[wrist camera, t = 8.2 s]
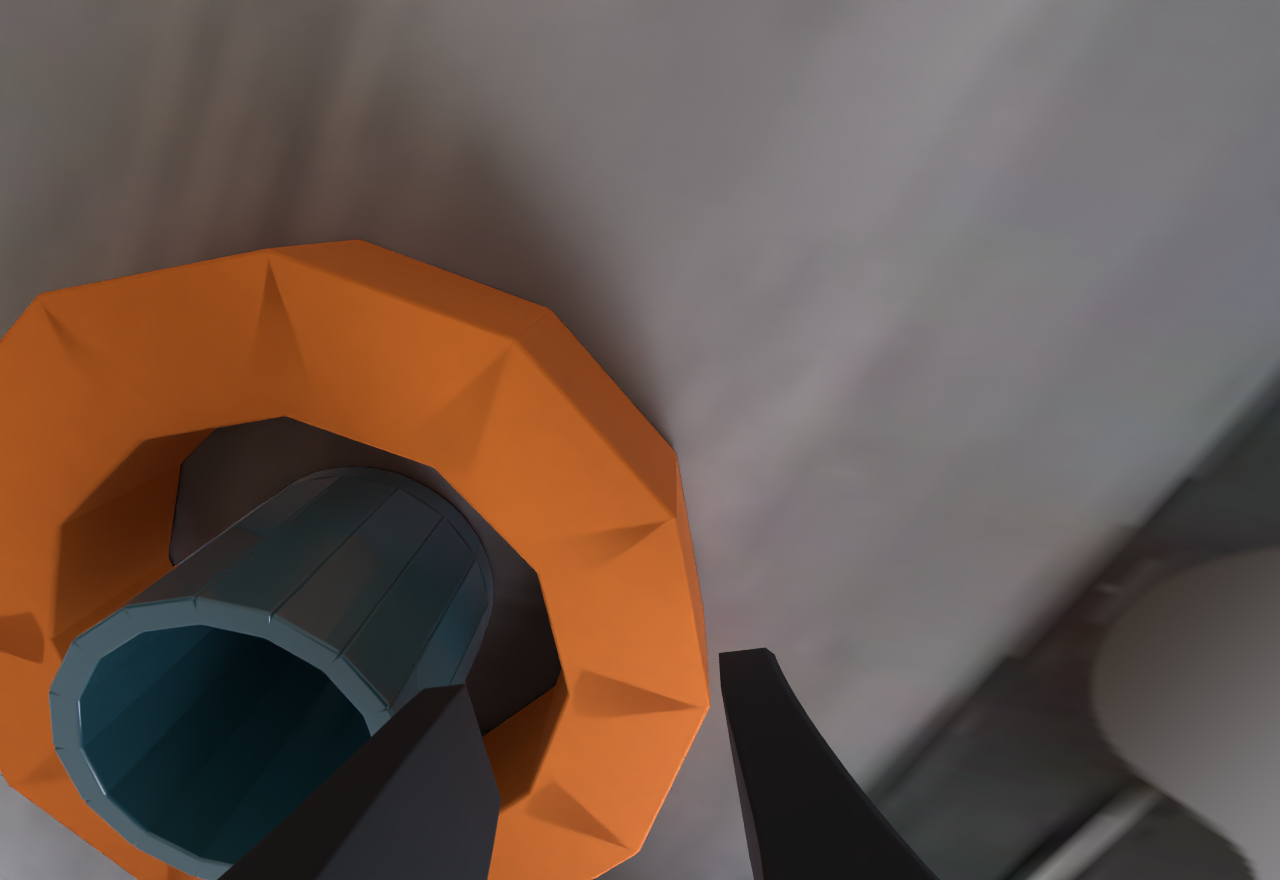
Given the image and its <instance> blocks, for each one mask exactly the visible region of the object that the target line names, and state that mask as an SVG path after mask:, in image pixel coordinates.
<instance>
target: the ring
mask: <svg viewBox="0 0 1280 880" xmlns="http://www.w3.org/2000/svg"><path fill="white" fill-rule="evenodd" d="M284 416H286V417H289V418H292V419H295V420H298V421H301V422H304V423H307V424H309V425H312V426H315V427H318V428H321V429H324V430H327V431H330V432H333V433H336V434H338V435H341V436H344V437H347V438H350V439H353V440H356V441H359V442H362V443H364V444H367V445H370V446H373V447H376V448H379V449H382V450H385V451H388V452H391V453H393V454H396V455H399V456H402V457H405V458H408V459H411V460H414V461H417V462H420V463H422V464H425V465H428V466H431V467H434V468H435V469H436V470H437V471H438V472H439V473H440V474H441V475H442V476H443V477H444V478H445V479H446V480H447V481H448V482H449V483H450V484H451V486H452V487H453V488H454V489H455V490H456V491H457V492H458V493H459V494H460V495H461V496H462V497H463V498H464V499H465V500H466V501H467V502H468V503H469V504H470V505H471V506H472V507H473V508H474V509H475V510H476V511H477V512H478V513H479V514H480V515H481V516H482V517H483V518H484V519H485V520H486V521H487V522H488V523H489V524H490V525H491V526H492V527H493V528H494V529H495V530H496V531H497V532H498V533H499V534H500V535H501V536H502V537H503V538H504V539H505V540H506V541H507V542H508V543H509V544H510V545H511V546H512V547H513V548H514V550H515V551H516V552H517V553H518V554H519V555H520V556H521V557H522V558H523V559H524V560H525V561H526V562H527V563H528V564H529V565H530V566H531V567H532V568H533V569H534V570H535V571H536V572H537V574H538V578H539V582H540V586H541V590H542V593H543V597H544V601H545V605H546V609H547V613H548V617H549V621H550V624H551V628H552V632H553V636H554V640H555V644H556V648H557V652H558V655H559V659H560V663H561V667H562V669H561V672H560V674H559V677H558V679H557V682H556V685H555V686H554V687H553V688H552V689H550V690H549V691H547V692H546V693H544V694H543V695H542V696H540V697H539V698H537V699H536V700H534V701H533V702H532V703H530V704H529V705H527V706H526V707H524V708H523V709H521V710H520V711H519V712H517V713H516V714H514V715H513V716H511V717H510V718H509V719H507V720H506V721H504V722H503V723H501V724H500V725H499V726H497V727H496V728H494V729H493V730H491V731H490V732H489V733H487V734H486V735H484V736H483V737H482V738H483V742H484V745H485V748H486V751H487V755H488V758H489V761H490V764H491V768H492V771H493V774H494V777H495V781H496V784H497V787H498V790H499V794H500V797H501V804H500V810H499V817H498V823H497V829H496V835H495V842H494V847H493V852H492V858H491V863H490V868H489V874H488V879H487V880H593V879H595V878H596V877H598V876H600V875H601V874H603V873H605V872H607V871H608V870H610V869H612V868H613V867H615V866H617V865H618V864H620V863H622V862H623V861H625V860H627V859H629V858H630V857H632V856H634V855H635V854H636V853H637V852H639V851H640V849H641V847H642V845H643V843H644V841H645V839H646V837H647V835H648V833H649V831H650V828H651V826H652V824H653V822H654V820H655V818H656V816H657V814H658V812H659V810H660V808H661V806H662V804H663V802H664V800H665V798H666V796H667V794H668V792H669V789H670V787H671V785H672V783H673V781H674V779H675V777H676V775H677V773H678V771H679V769H680V767H681V765H682V763H683V761H684V759H685V757H686V755H687V753H688V750H689V748H690V746H691V744H692V742H693V740H694V738H695V736H696V734H697V732H698V730H699V728H700V726H701V724H702V722H703V720H704V718H705V716H706V714H707V711H708V709H709V706H710V691H709V677H708V663H707V649H706V635H705V621H704V609H703V603H702V597H701V592H700V586H699V580H698V574H697V569H696V563H695V557H694V552H693V546H692V540H691V534H690V529H689V523H688V517H687V511H686V506H685V500H684V494H683V488H682V483H681V477H680V471H679V465H678V460H677V455H676V453H675V451H674V450H673V449H672V448H671V446H670V445H669V444H668V443H667V442H666V441H665V440H664V438H663V437H662V436H661V435H660V434H659V433H658V432H657V430H656V429H655V428H654V427H653V426H652V425H651V424H650V422H649V421H648V420H647V419H646V418H645V417H644V416H643V414H642V413H641V412H640V411H639V410H638V409H637V407H636V406H635V405H634V404H633V403H632V402H631V401H630V399H629V398H628V397H627V396H626V395H625V394H624V393H623V391H622V390H621V389H620V388H619V387H618V386H617V385H616V383H615V382H614V381H613V380H612V379H611V378H610V377H609V375H608V374H607V373H606V372H605V371H604V370H603V368H602V367H601V366H600V365H599V364H598V363H597V362H596V360H595V359H594V358H593V357H592V356H591V355H590V354H589V352H588V351H587V350H586V349H585V348H584V347H583V346H582V344H581V343H580V342H579V341H578V340H577V339H576V337H575V336H574V335H573V334H572V333H571V332H570V331H569V329H568V328H567V327H566V326H565V325H564V324H563V323H562V321H561V320H560V319H559V318H558V317H557V316H556V315H555V313H554V312H553V311H551V310H550V309H549V308H547V307H544V306H541V305H538V304H536V303H533V302H530V301H527V300H525V299H522V298H519V297H517V296H514V295H511V294H508V293H506V292H503V291H500V290H497V289H495V288H492V287H489V286H486V285H484V284H481V283H478V282H475V281H473V280H470V279H467V278H465V277H462V276H459V275H456V274H454V273H451V272H448V271H445V270H443V269H440V268H437V267H434V266H432V265H429V264H426V263H423V262H421V261H418V260H415V259H413V258H410V257H407V256H404V255H402V254H399V253H396V252H393V251H391V250H388V249H385V248H382V247H380V246H377V245H374V244H371V243H369V242H366V241H363V240H358V239H356V240H346V241H336V242H326V243H316V244H307V245H297V246H287V247H277V248H267V249H262V250H257V251H252V252H247V253H242V254H237V255H232V256H227V257H222V258H217V259H211V260H206V261H201V262H196V263H191V264H186V265H181V266H176V267H171V268H166V269H161V270H156V271H151V272H145V273H140V274H135V275H130V276H125V277H120V278H115V279H110V280H105V281H100V282H95V283H90V284H85V285H80V286H74V287H69V288H64V289H59V290H54V291H49V292H44V293H41V294H39V295H38V296H37V297H36V298H35V299H34V301H33V302H32V303H31V304H30V305H29V307H28V308H27V309H26V310H25V311H24V313H23V314H22V315H21V316H20V317H19V319H18V320H17V321H16V322H15V323H14V325H13V326H12V327H11V328H10V329H9V331H8V332H7V333H6V334H5V335H4V337H3V338H2V339H1V340H0V771H1V773H2V775H3V776H4V778H5V780H6V781H7V783H8V785H9V786H10V787H13V788H14V789H15V790H17V791H18V792H19V793H21V794H22V795H23V796H25V797H26V798H27V799H29V800H30V801H32V802H33V803H34V804H36V805H37V806H38V807H40V808H41V809H42V810H44V811H45V812H47V813H48V814H49V815H51V816H52V817H53V818H55V819H56V820H57V821H59V822H60V823H62V824H63V825H64V826H66V827H67V828H68V829H70V830H71V831H72V832H74V833H75V834H77V835H78V836H79V837H81V838H82V839H83V840H85V841H86V842H87V843H89V844H90V845H92V846H93V847H94V848H96V849H97V850H98V851H100V852H101V853H102V854H104V855H105V856H107V857H108V858H109V859H111V860H112V861H113V862H115V863H116V864H117V865H119V866H120V867H122V868H123V869H124V870H126V871H127V872H128V873H130V874H131V875H132V876H134V877H135V878H137V879H138V880H205V879H200V878H197V877H196V876H190V875H188V874H186V873H185V872H183V871H181V870H179V869H177V868H175V867H173V866H171V865H169V864H167V863H165V862H163V861H161V860H159V859H157V858H155V857H153V856H151V855H149V854H147V853H145V852H143V851H141V850H139V849H137V848H136V847H135V845H131V844H130V843H128V842H127V841H126V840H125V839H124V838H123V837H122V836H121V835H120V834H119V833H117V832H116V831H115V830H114V829H113V828H112V827H111V826H110V825H109V824H108V823H106V822H105V821H104V820H103V819H102V818H101V817H100V816H99V815H98V814H97V813H95V812H94V811H93V810H92V809H91V808H90V807H89V806H88V805H87V804H86V803H85V800H83V799H82V798H81V796H80V795H79V793H78V791H77V789H76V787H75V786H74V784H73V782H72V780H71V778H70V777H69V775H68V773H67V771H66V770H65V768H64V766H63V764H62V762H61V761H60V759H59V757H58V755H57V753H56V752H55V746H54V745H53V741H52V729H51V718H50V706H49V695H48V693H49V691H50V690H49V688H50V686H51V684H52V681H53V679H54V677H55V675H56V673H57V671H58V669H59V667H60V665H61V663H62V661H63V659H64V657H65V654H66V652H67V650H68V648H69V646H70V644H71V642H72V641H73V640H74V639H75V638H76V636H78V635H79V634H80V633H82V632H83V631H85V630H86V629H87V628H89V627H90V626H92V625H93V624H94V623H96V622H97V621H99V620H100V619H101V618H103V617H104V616H106V615H107V614H108V613H110V612H111V611H112V610H114V609H115V608H117V607H118V606H119V605H121V604H122V603H124V602H125V601H126V600H128V599H129V598H131V597H132V596H133V595H135V594H136V593H138V592H139V591H140V590H142V589H143V588H145V587H146V586H147V585H149V584H150V583H152V582H153V581H154V580H156V579H157V578H159V577H160V576H161V575H163V574H164V573H165V572H167V571H168V570H170V569H171V568H172V567H173V566H172V563H171V561H170V559H169V557H168V555H169V547H170V540H171V533H172V526H173V518H174V511H175V504H176V496H177V489H178V482H179V475H180V467H181V463H182V462H183V461H184V460H185V459H186V458H187V457H188V456H189V455H190V454H191V453H192V452H193V451H194V450H195V449H196V448H197V447H198V446H199V445H200V444H201V443H202V442H203V441H204V440H205V439H206V438H207V437H208V436H209V435H210V434H211V433H212V432H213V431H214V430H215V429H216V428H219V427H225V426H231V425H237V424H243V423H249V422H254V421H260V420H266V419H272V418H278V417H284Z"/></svg>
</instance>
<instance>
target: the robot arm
mask: <svg viewBox="0 0 1280 880" xmlns="http://www.w3.org/2000/svg"><path fill="white" fill-rule="evenodd" d="M719 664H720V680H721V690H722V696H723V702H724V708H725V714H726V720H727V726H728V732H729V738H730V744H731V750H732V756H733V762H734V768H735V774H736V780H737V785H738V791H739V797H740V803H741V809H742V815H743V821H744V827H745V833H746V839H747V845H748V851H749V857H750V861H751V866H752V871H753V876H754V880H939V879H938V877H937V876H936V875H935V874H934V873H933V872H932V871H931V870H930V869H929V868H928V867H927V866H926V864H925V863H924V862H923V861H922V860H921V859H920V858H919V857H918V856H917V855H916V853H915V852H914V851H913V850H912V849H911V848H910V847H909V845H908V844H907V843H906V842H905V841H904V840H903V839H902V837H901V836H900V835H899V834H898V833H897V832H896V831H895V829H894V828H893V827H892V826H891V825H890V823H889V822H888V821H887V820H886V819H885V817H884V816H883V815H882V814H881V813H880V811H879V810H878V809H877V808H876V806H875V805H874V804H873V803H872V802H871V800H870V799H869V798H868V797H867V796H866V794H865V793H864V792H863V791H862V789H861V788H860V787H859V785H858V784H857V783H856V782H855V780H854V779H853V778H852V776H851V775H850V774H849V773H848V771H847V770H846V769H845V767H844V766H843V764H842V763H841V762H840V760H839V759H838V758H837V756H836V755H835V753H834V752H833V751H832V749H831V748H830V747H829V745H828V744H827V743H826V741H825V740H824V738H823V737H822V736H821V734H820V733H819V731H818V730H817V728H816V727H815V725H814V724H813V723H812V721H811V720H810V718H809V717H808V715H807V713H806V712H805V710H804V709H803V707H802V705H801V704H800V702H799V701H798V699H797V698H796V696H795V694H794V693H793V691H792V689H791V687H790V686H789V684H788V682H787V680H786V678H785V676H784V675H783V673H782V670H781V668H780V666H779V664H778V662H777V660H776V657H775V654H773V653H772V652H771V651H769V650H768V649H766V648H758V649H750V650H742V651H733V652H725V653H719ZM500 804H501V797H500V794H499V790H498V787H497V784H496V781H495V777H494V774H493V771H492V768H491V764H490V761H489V758H488V755H487V751H486V748H485V745H484V742H483V738H482V735H481V732H480V729H479V725H478V722H477V719H476V716H475V712H474V709H473V706H472V703H471V699H470V696H469V693H468V690H467V686H466V684H458V685H449V686H441V687H432V688H424V689H423V690H421V691H420V692H419V693H418V694H417V695H416V696H414V697H413V698H412V699H411V700H410V701H409V702H408V703H407V704H405V705H404V706H403V707H402V708H401V709H400V710H399V711H398V712H397V713H396V714H395V715H394V716H393V717H392V718H390V719H389V720H388V721H387V722H386V723H385V724H384V725H383V726H382V727H381V728H380V729H379V730H378V731H377V732H376V733H375V734H374V735H373V736H372V737H371V738H370V739H369V740H368V741H367V742H366V743H364V744H363V745H362V746H361V747H360V748H359V749H358V750H357V751H356V752H355V753H354V754H353V755H352V756H351V757H350V758H349V759H348V760H347V761H346V762H345V763H344V764H343V765H342V766H341V767H340V768H338V769H337V770H336V771H335V772H334V773H333V774H332V775H331V776H330V777H329V778H328V779H327V780H326V781H325V782H324V783H323V784H322V785H321V786H320V787H319V788H318V789H316V790H315V791H314V792H313V793H312V794H311V795H310V796H309V797H308V798H307V799H306V800H305V801H304V802H303V803H302V804H301V805H300V806H299V807H298V808H296V809H295V810H294V811H293V812H292V813H291V814H290V815H289V816H288V817H287V818H285V819H284V820H283V821H282V822H281V823H280V824H279V825H278V826H276V827H275V828H274V829H273V830H272V831H271V832H270V833H269V834H268V835H266V836H265V837H264V838H263V839H262V840H261V841H260V842H259V843H257V844H256V845H255V846H254V847H253V848H252V849H251V850H250V851H249V852H247V853H246V854H245V855H244V856H243V857H242V858H241V859H240V860H238V861H237V862H236V863H235V864H234V865H233V866H232V867H231V868H230V869H228V870H227V871H226V872H225V873H224V874H223V875H222V876H221V877H219V878H218V879H217V880H487V879H488V874H489V868H490V863H491V858H492V852H493V847H494V842H495V835H496V829H497V823H498V817H499V810H500Z"/></svg>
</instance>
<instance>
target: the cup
mask: <svg viewBox="0 0 1280 880" xmlns="http://www.w3.org/2000/svg"><path fill="white" fill-rule="evenodd" d="M493 599H494V586H493V577H492V572H491V567H490V563H489V561H488V558H487V555H486V552H485V550H484V548H483V546H482V544H481V542H480V540H479V538H478V536H477V535H476V533H475V532H474V530H473V529H472V527H471V526H470V524H469V523H468V522H467V521H466V520H465V518H464V517H463V516H462V515H461V514H460V513H459V512H458V510H456V509H455V508H454V507H453V506H452V505H451V504H450V503H449V502H448V501H446V500H445V499H444V498H442V497H441V496H440V495H438V494H437V493H435V492H434V491H433V490H431V489H429V488H428V487H426V486H424V485H422V484H420V483H418V482H417V481H414V480H412V479H410V478H407V477H405V476H402V475H400V474H396V473H393V472H389V471H385V470H380V469H374V468H368V467H340V468H331V469H327V470H322V471H318V472H315V473H312V474H310V475H307V476H304V477H302V478H300V479H298V480H297V481H295V482H293V483H291V484H290V485H288V486H287V487H285V488H284V489H283V490H281V491H280V492H278V493H277V494H276V495H274V496H273V497H271V498H270V499H268V500H267V501H265V502H264V503H262V504H261V505H259V506H258V507H256V508H255V509H253V510H252V511H251V512H249V513H248V514H246V515H245V516H244V517H242V518H241V519H239V520H238V521H237V522H235V523H234V524H232V525H231V526H230V527H228V528H227V529H225V530H224V531H223V532H221V533H220V534H218V535H217V536H216V537H214V538H213V539H211V540H210V541H209V542H207V543H206V544H205V545H203V546H202V547H200V548H199V549H198V550H196V551H195V552H193V553H192V554H191V555H189V556H188V557H186V558H185V559H184V560H182V561H181V562H179V563H178V564H177V565H175V566H174V567H172V568H171V569H170V570H168V571H167V572H165V573H164V574H163V575H161V576H160V577H159V578H157V579H156V580H154V581H153V582H152V583H150V584H149V585H147V586H146V587H145V588H143V589H142V590H140V591H139V592H138V593H136V594H135V595H133V596H132V597H131V598H129V599H128V600H126V601H125V602H124V603H122V604H121V605H119V606H118V607H117V608H115V609H114V610H112V611H111V612H110V613H108V614H107V615H106V616H104V617H103V618H101V619H100V620H99V621H97V622H96V623H94V624H93V625H92V626H90V627H89V628H87V629H86V630H85V631H83V632H82V633H80V634H79V635H78V636H76V638H75V639H74V640H73V641H72V642H71V644H70V646H69V648H68V650H67V652H66V654H65V657H64V659H63V661H62V663H61V665H60V667H59V669H58V671H57V673H56V675H55V677H54V679H53V681H52V684H51V686H50V688H49V690H50V691H49V693H48V695H49V706H50V718H51V729H52V741H53V745H54V746H55V752H56V753H57V755H58V757H59V759H60V761H61V762H62V764H63V766H64V768H65V770H66V771H67V773H68V775H69V777H70V778H71V780H72V782H73V784H74V786H75V787H76V789H77V791H78V793H79V795H80V796H81V798H82V799H83V800H85V803H86V804H87V805H88V806H89V807H90V808H91V809H92V810H93V811H94V812H95V813H97V814H98V815H99V816H100V817H101V818H102V819H103V820H104V821H105V822H106V823H108V824H109V825H110V826H111V827H112V828H113V829H114V830H115V831H116V832H117V833H119V834H120V835H121V836H122V837H123V838H124V839H125V840H126V841H127V842H128V843H130V844H131V845H135V847H136V848H137V849H139V850H141V851H143V852H145V853H147V854H149V855H151V856H153V857H155V858H157V859H159V860H161V861H163V862H165V863H167V864H169V865H171V866H173V867H175V868H177V869H179V870H181V871H183V872H185V873H186V874H188V875H190V876H196V877H197V878H200V879H205V880H217V879H218V878H219V877H221V876H222V875H223V874H224V873H225V872H226V871H227V870H228V869H230V868H231V867H232V866H233V865H234V864H235V863H236V862H237V861H238V860H240V859H241V858H242V857H243V856H244V855H245V854H246V853H247V852H249V851H250V850H251V849H252V848H253V847H254V846H255V845H256V844H257V843H259V842H260V841H261V840H262V839H263V838H264V837H265V836H266V835H268V834H269V833H270V832H271V831H272V830H273V829H274V828H275V827H276V826H278V825H279V824H280V823H281V822H282V821H283V820H284V819H285V818H287V817H288V816H289V815H290V814H291V813H292V812H293V811H294V810H295V809H296V808H298V807H299V806H300V805H301V804H302V803H303V802H304V801H305V800H306V799H307V798H308V797H309V796H310V795H311V794H312V793H313V792H314V791H315V790H316V789H318V788H319V787H320V786H321V785H322V784H323V783H324V782H325V781H326V780H327V779H328V778H329V777H330V776H331V775H332V774H333V773H334V772H335V771H336V770H337V769H338V768H340V767H341V766H342V765H343V764H344V763H345V762H346V761H347V760H348V759H349V758H350V757H351V756H352V755H353V754H354V753H355V752H356V751H357V750H358V749H359V748H360V747H361V746H362V745H363V744H364V743H366V742H367V741H368V740H369V739H370V738H371V737H372V736H373V735H374V734H375V733H376V732H377V731H378V730H379V729H380V728H381V727H382V726H383V725H384V724H385V723H386V722H387V721H388V720H389V719H390V718H392V717H393V716H394V715H395V714H396V713H397V712H398V711H399V710H400V709H401V708H402V707H403V706H404V705H405V704H407V703H408V702H409V701H410V700H411V699H412V698H413V697H414V696H416V695H417V694H418V693H419V692H420V691H421V690H423V689H424V688H432V687H441V686H449V685H458V684H464V683H465V681H466V678H467V676H468V674H469V672H470V669H471V667H472V665H473V663H474V660H475V658H476V656H477V653H478V651H479V649H480V647H481V644H482V641H483V635H484V633H485V630H486V628H487V625H488V623H489V621H490V617H491V613H492V609H493Z"/></svg>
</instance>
